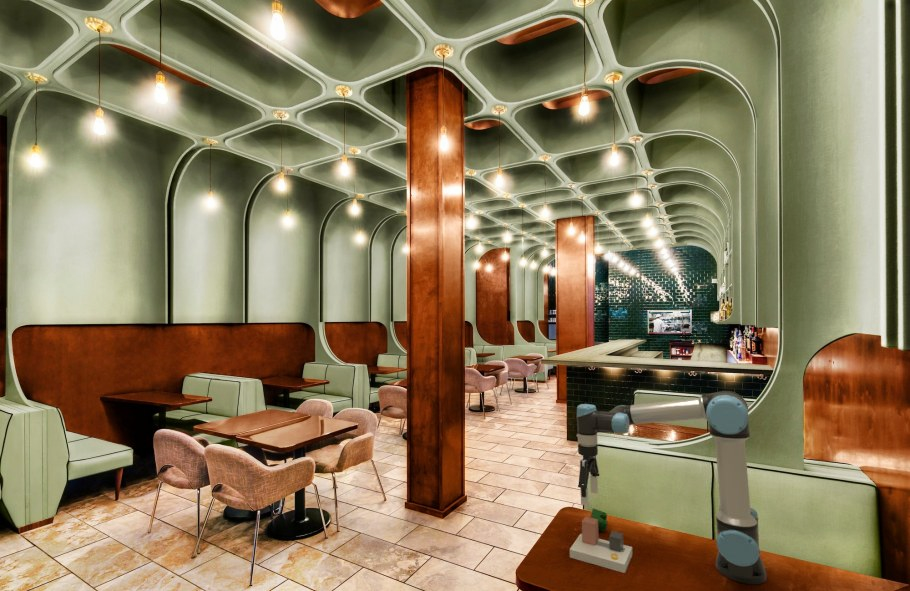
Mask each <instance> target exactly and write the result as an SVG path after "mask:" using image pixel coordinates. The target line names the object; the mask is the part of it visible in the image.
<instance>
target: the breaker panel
mask: <svg viewBox="0 0 910 591" xmlns="http://www.w3.org/2000/svg"><path fill="white" fill-rule="evenodd" d="M632 557H633V546H629V545H626V544H623V548H622V550H621V552H619V551H615V550H612V549H609V540H606V539H602V538H599V540H598V542H597V544H596V545H591V544H587V543H583V542H582V533H580V534H579V535H578V536H577V538H576V540H575V541H574V543H573V544H572V545H571V547H570V548H569V558H571V559H575V560H577V561H581V562H585V563H588V564H590V565H591V564H593V565H596V566H599V567H602V568H605V569H610V570H611V571H612V570H613V571H616V572H620V573H623V574H626V572H627V570H628V567H629V564H630V563H631V559H632Z"/></svg>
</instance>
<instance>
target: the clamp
mask: <svg viewBox="0 0 910 591" xmlns="http://www.w3.org/2000/svg"><path fill="white" fill-rule="evenodd" d="M607 517H608V515H607V513H606V512H604V511H601V510H599V509H596V508H594V507H593V508H592V510H591V515H590V518H594V519H598V531H602V532H606V530H607V527H608V523H609V522H608V520H607Z"/></svg>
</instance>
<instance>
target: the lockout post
mask: <svg viewBox="0 0 910 591" xmlns="http://www.w3.org/2000/svg"><path fill="white" fill-rule="evenodd" d="M581 534H582V542H583V543H587V544H591V545H596V544H597V542H598V540H599V539H600V538H599V529H598V519H594V518H591V516H590V517H589V516H587V515H586V516H584V518H583V519H582V520H581Z"/></svg>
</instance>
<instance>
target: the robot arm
mask: <svg viewBox="0 0 910 591" xmlns="http://www.w3.org/2000/svg"><path fill="white" fill-rule="evenodd" d="M699 419H700V420H701V419H704V420H706V421H708V428H709V429H708V431H709V435H710V436H711V437H712V438H713V439H714V441H715V456H716V470H717V479H718V480H717V481H718V493H719V509H718V511H717V512H716V514H715V520H716V535H717V536H716V539H715V543H716V547H717V550H718V552H717V554H716V557H715V568H716V570H717V571H718V572H719V573H720V574H722V575H723V576H724V577H726V578H727V579H730V580H733V581H735V582H739V583H740V584H741V583H742V584H746V585H747V584H748V585H760V584H764V583H765V582H766V581H767V570H766V568H765V566H764V563H763V559H762V557H761V555H760V554H761V549H760V535H759V516H758V511H756V509H754V508H753V507H751V500H750V490H749V488H750V487H749V478H748V477H749V475H748V474H749V473H748V466H747V464H748V462H747V454H746V441H747V440H749V439H750V438H751V436H750V423H749V422H750V421H749V419H750V417H749V407H748V403H747V401H746V400H745V398H744V397H743V396H742V395H740V394H739V393H736V392H734V391H730V390H722V391H717V392H711V393H705V394H700V396H699V397H694V398H686V399H684V398H683V399H678V400H677V399H675V400H667V401H658V402H649V403H638V404H631V405H623V404H620V405H616V406H614V408H612V409H611V410H610V411H600V410H597V407H596V405H595V404H589V403H580V404H579V405H577V407H576V427H577V428H576V429H577V434H576V437H577V443H578V444H577V453H578V455H580V456H582V458H581V460H579V474H578V485H577V487H578V488H580V505H582V506H585V507H586V506H587V507H588V506H589V504H590V502H589V501H590V500H589V487H588V484H589V482H590V493H592V494H596V495H597V494H599V488H598V486H599V485H598V477H600V472H599V467H598V461H597V455H598V453H599V448H598V447H599V446H598V431H600V432H607V433H614V434H627V433H629V429H630V426H632V425H641V424H653V423H665V422H674V421H675V422H678V421H689V420H690V421H691V420H699ZM589 478H590V481H589Z"/></svg>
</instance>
